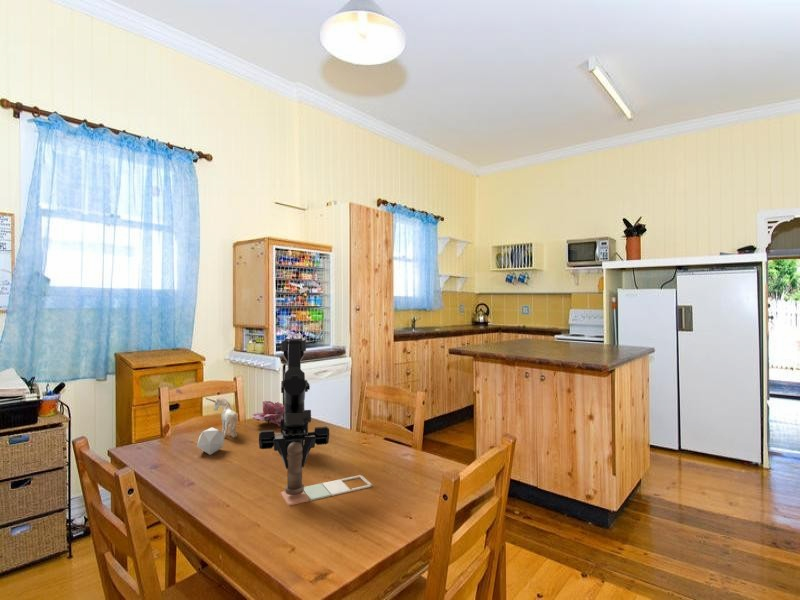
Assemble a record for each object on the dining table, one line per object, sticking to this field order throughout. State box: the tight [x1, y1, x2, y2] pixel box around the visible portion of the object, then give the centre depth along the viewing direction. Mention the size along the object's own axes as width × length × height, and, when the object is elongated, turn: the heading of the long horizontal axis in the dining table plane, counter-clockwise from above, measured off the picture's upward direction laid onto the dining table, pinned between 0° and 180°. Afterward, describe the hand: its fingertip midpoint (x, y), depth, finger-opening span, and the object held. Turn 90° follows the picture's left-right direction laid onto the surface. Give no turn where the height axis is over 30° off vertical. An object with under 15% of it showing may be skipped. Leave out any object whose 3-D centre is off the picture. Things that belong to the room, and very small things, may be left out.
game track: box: [280, 474, 374, 507], centre depth 120 cm, size 24×8×1 cm, turn 119°
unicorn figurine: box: [204, 397, 238, 439], centre depth 167 cm, size 7×20×13 cm, turn 51°
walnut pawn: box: [284, 442, 305, 495], centre depth 115 cm, size 5×5×13 cm
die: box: [196, 426, 225, 456], centre depth 149 cm, size 8×9×10 cm
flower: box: [252, 400, 284, 428], centre depth 180 cm, size 15×15×10 cm
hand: (294, 467), depth 114 cm, fingers closed on walnut pawn, 4 cm apart
